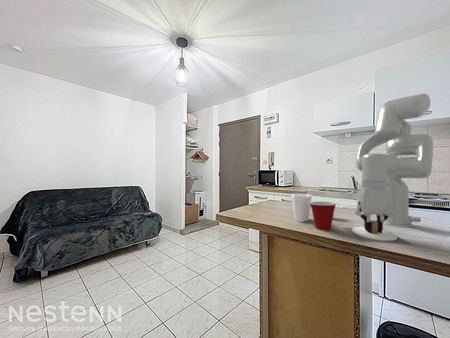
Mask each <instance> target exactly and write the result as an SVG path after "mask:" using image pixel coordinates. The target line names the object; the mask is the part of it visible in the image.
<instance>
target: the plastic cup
mask: <svg viewBox="0 0 450 338" xmlns="http://www.w3.org/2000/svg"><path fill="white" fill-rule="evenodd" d="M309 204H310V210H311V211H312V217H313V221H314V222H313V223H314V227H315V228H316V229H317V230H321V231H329V230H331V229H332V228H331V227H332V223H333V220H334V215H335V214H334V212H335V208H336V205H337V204H338V203H337V202H333V201H311V202H309ZM333 214H334V215H333Z"/></svg>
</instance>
